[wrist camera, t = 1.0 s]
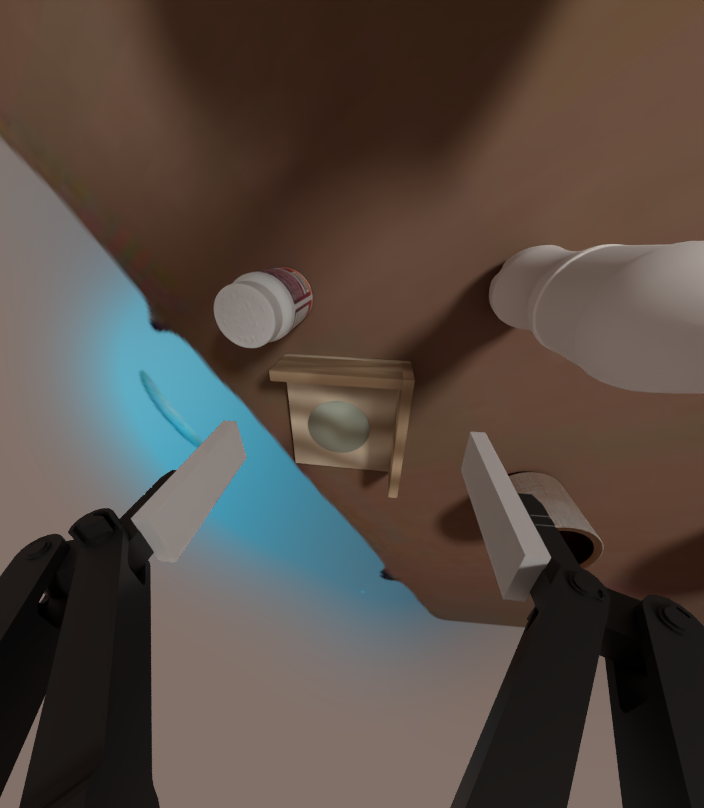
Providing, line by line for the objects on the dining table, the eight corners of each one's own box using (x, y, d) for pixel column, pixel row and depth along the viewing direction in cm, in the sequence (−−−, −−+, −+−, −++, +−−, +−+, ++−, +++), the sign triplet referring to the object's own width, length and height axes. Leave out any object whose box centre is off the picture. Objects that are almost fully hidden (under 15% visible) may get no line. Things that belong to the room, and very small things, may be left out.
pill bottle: (258, 265, 30) (197, 273, 20) (313, 267, 29) (276, 276, 20) (266, 321, 33) (215, 351, 23) (315, 324, 33) (284, 356, 23)
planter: (470, 502, 44) (489, 560, 36) (517, 458, 39) (552, 514, 31) (525, 525, 46) (556, 586, 37) (578, 486, 40) (627, 547, 32)
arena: (285, 353, 35) (268, 371, 30) (410, 361, 33) (414, 380, 28) (297, 459, 44) (285, 486, 39) (395, 468, 42) (397, 498, 37)
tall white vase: (491, 331, 31) (738, 524, 9) (474, 268, 28) (778, 332, 6) (562, 302, 28) (1117, 467, 7) (552, 230, 25) (1455, 124, 4)
